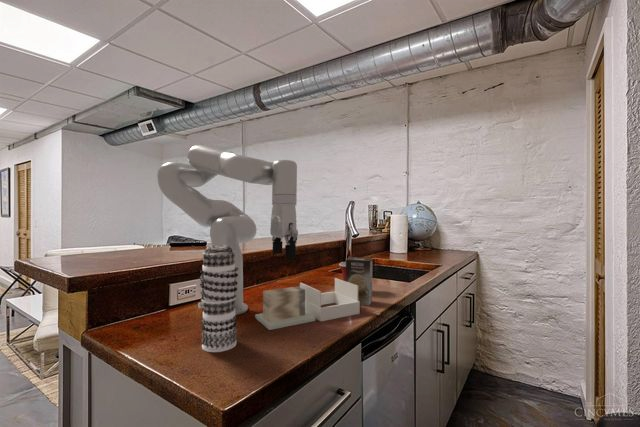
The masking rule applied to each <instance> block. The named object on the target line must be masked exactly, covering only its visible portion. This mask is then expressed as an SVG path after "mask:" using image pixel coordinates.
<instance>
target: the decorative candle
mask: <svg viewBox="0 0 640 427" xmlns="http://www.w3.org/2000/svg"><path fill="white" fill-rule="evenodd" d="M234 253H235V251H233V250H232V248H231V247H230V246H226V245H216V246H212V245H210V246H207V247H206V248H205V250H204V252H201V254H202V256H203V258H202V259H203V260H202V261H203V264H202V269H201V270H200V274H201V275H200V277H199V280H200V284H199V286H200V287H201V291H200V295H201V298H200V299H201V301H200V302H204V305H203V307H204V308H203V311H202V319H200V320H201V324H202V325H201V330H203V331H202V332H201V337H202V338H201V348H202V350H203V351H205V352H208V353H223V352H226V351H229V350H231V349H233V348H235V347H236V345H237V343H238V342H237V337H238V335H237V332H238V329H237V328H236V327H237V324H238V322H237V318H238V317H237V316H238V315H235V299H236V295H235V294H234V292H235V291H237V288H236V287H234V286H235V285H237V283H238V282H236V281H234V278H236V277H237V276H238V274H236V273H234V271H235V272H236V271H237V270H238V268H237V267H235V263H234Z"/></svg>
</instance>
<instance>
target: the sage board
mask: <svg viewBox="0 0 640 427" xmlns="http://www.w3.org/2000/svg"><path fill="white" fill-rule="evenodd" d="M254 318H255V319H256V320H257V321H258V322H259V323H261V324H262V325H263V326H264V327H265V328H266V329H267V330H269V331H271V330H277V329H282V328H286V327H291V326H297V325H301V324H307V323H310V322H311V323H312V322H315V321H316V318H315V317H314V316H312V315H310V314H309V313H307V312H305V315H303V316H297V317H292V318H287V319H281V320H276V321H270V322H269V321H268V320H266V319H265V318H264V317H263V312H261V313H256V314H254Z"/></svg>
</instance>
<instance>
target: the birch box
mask: <svg viewBox="0 0 640 427" xmlns="http://www.w3.org/2000/svg"><path fill="white" fill-rule="evenodd" d="M262 313H263V317H264V318H265V319H266V320H268V321H269V322H270V321H276V320H281V319H287V318H292V317H297V316H303V315H305V289H303V288H301V287H300V285H299V286H297V285H296V286H289V287H283V288H276V289H275V288H274V289H267V290H263V291H262Z"/></svg>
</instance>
